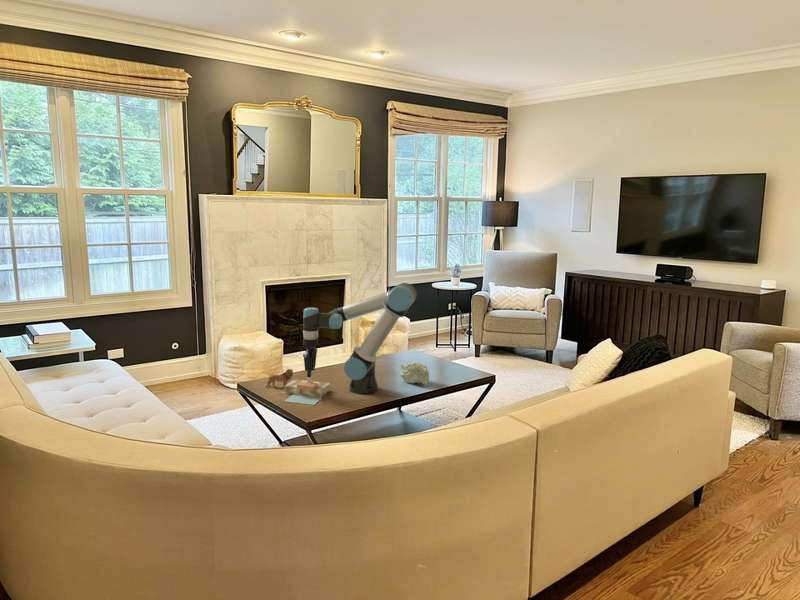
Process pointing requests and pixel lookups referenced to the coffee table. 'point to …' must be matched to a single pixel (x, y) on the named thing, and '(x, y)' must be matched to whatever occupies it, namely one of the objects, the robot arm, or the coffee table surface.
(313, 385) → the tile
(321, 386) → the plate
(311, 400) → the mat
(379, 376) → the coffee table surface
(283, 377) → the lion figurine
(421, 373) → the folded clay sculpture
